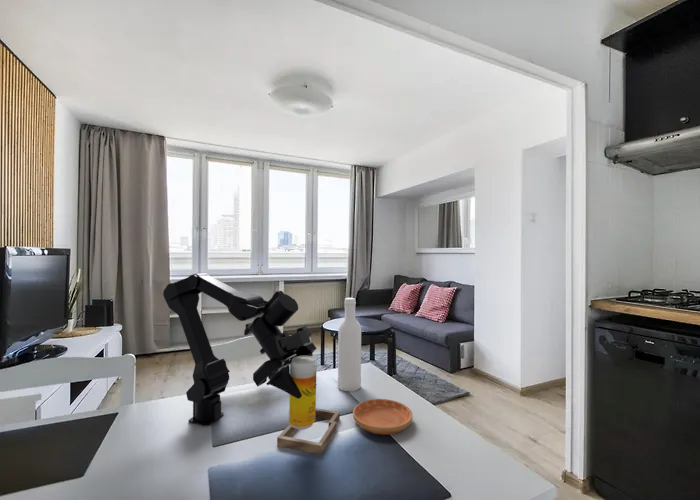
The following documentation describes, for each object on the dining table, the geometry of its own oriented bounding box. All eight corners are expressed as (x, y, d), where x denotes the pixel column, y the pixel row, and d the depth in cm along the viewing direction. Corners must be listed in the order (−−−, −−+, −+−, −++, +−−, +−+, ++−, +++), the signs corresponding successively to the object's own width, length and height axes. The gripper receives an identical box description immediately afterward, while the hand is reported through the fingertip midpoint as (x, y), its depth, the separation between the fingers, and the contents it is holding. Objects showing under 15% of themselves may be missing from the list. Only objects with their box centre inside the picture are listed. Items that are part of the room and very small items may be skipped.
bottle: (339, 381, 115) (340, 296, 115) (361, 382, 114) (362, 297, 114) (336, 391, 107) (337, 299, 107) (360, 392, 106) (361, 300, 106)
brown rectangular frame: (277, 446, 76) (277, 437, 76) (305, 413, 92) (305, 406, 92) (320, 454, 73) (321, 445, 73) (342, 419, 89) (342, 412, 89)
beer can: (314, 430, 73) (315, 363, 73) (287, 430, 73) (288, 363, 73) (316, 417, 79) (317, 355, 79) (290, 416, 79) (292, 354, 79)
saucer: (343, 431, 84) (343, 419, 84) (364, 404, 99) (364, 394, 99) (405, 445, 78) (405, 432, 78) (417, 415, 93) (417, 404, 93)
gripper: (264, 325, 69) (308, 387, 65) (310, 311, 86) (347, 359, 82) (235, 356, 73) (274, 417, 68) (285, 336, 90) (319, 384, 85)
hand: (307, 391), depth 76 cm, fingers closed on beer can, 6 cm apart
